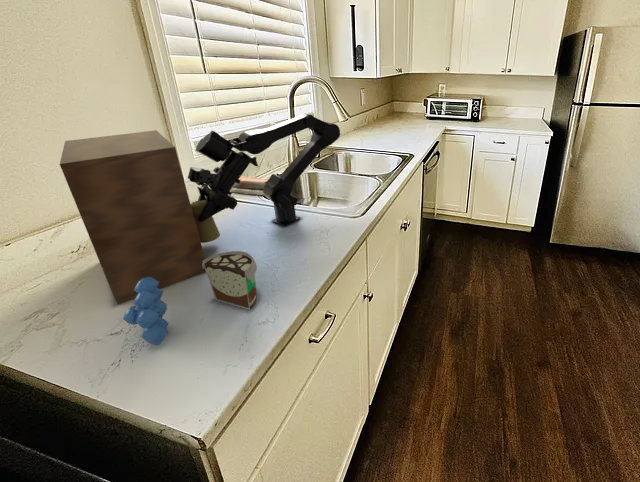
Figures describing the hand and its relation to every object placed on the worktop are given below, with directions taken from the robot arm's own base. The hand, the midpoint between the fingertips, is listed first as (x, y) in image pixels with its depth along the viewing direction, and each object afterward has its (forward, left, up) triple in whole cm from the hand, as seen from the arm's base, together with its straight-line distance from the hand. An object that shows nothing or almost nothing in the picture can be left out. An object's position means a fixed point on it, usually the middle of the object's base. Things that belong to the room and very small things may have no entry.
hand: (197, 218), depth 89 cm
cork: (0, -1, -7) cm, 7 cm away
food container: (-28, +7, -9) cm, 31 cm away
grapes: (-24, +23, -9) cm, 34 cm away
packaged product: (+27, -35, -9) cm, 45 cm away
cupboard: (+3, +11, -9) cm, 15 cm away
